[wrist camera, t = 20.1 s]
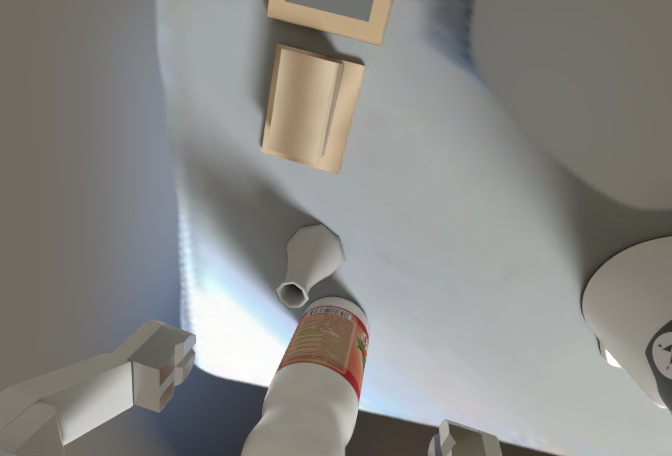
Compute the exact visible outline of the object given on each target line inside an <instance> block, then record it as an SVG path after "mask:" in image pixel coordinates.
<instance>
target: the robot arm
mask: <svg viewBox="0 0 672 456" xmlns="http://www.w3.org/2000/svg"><path fill="white" fill-rule="evenodd" d="M582 308H583V314H584V318H585V320H586V322H587V324H588V326H589V327H590V329H591V330H592V331H593V332H594V333H595V335H596V336H597V337H598V339H599V341H600V350H601V354H602V357H603V358H604V359H605V360H606V361H607V362H608V363H609V364H610V365H612V366H615V367H621V368H623V369H624V370H625V372H626V373H627V374H628V375H629V376H630V377H631V378H632V379H633V381H634V382H635V383H636V384H637V385H638V386H639V387H640V388H641V389H642V391H643V392H644V393H645V394H646V395H647V396H648V397H649V398H650V399H651V400H652V401H653V402H654V403H655V404H656V405H657V406H659V407H661V408H667V409H669V410H670V411H671V414H672V236H669V237H664V238H659V239H654V240H650V241H646V242H643V243H640V244H637V245H635V246H632V247H630V248H628V249H626V250H624V251H622V252H620V253H619V254H617V255H615V256H614V257H612V258H611V259H610V260H608V261H607V262H606V263H605V264H604V265H603V266H601V267H600V268H599V269H598V271H597V272H596V273H595V274H594V275H593V277H592V278H591V280H590V281H589V283H588V285H587V287H586V289H585V292H584V296H583V302H582ZM195 343H196V335H194V334H192V333H189V332H187V331H184V330H181V329H179V328H176V327H173V326H171V325H168V324H165V323H162V322H159V321H157V320H153V319H151V320H149V321H147V322H146V323H144V324H143V325H142V326H141V327H140V328H139V329H138V330H137V331H136V332H134V333H133V334H132V335H131V336H130V337H129V338H128V339H127V340H126V341H124V342H123V343H122V344H121V345H120V346H119V347H118V348H117V349H116V350H114V351H113V352H112V353H111V354H108V353H104V354H101V355H98V356H95V357H93V358H90V359H87V360H84V361H81V362H79V363H76V364H73V365H70V366H67V367H64V368H62V369H59V370H56V371H53V372H50V373H47V374H45V375H42V376H39V377H36V378H33V379H30V380H28V381H25V382H22V383H19V384H16V385H13V386H11V387H8V388H7V389H5V390H4V391H3V392H2V393H0V456H65V452H64V447H63V446H64V445H66V444H67V443H69V442H71V441H73V440H74V439H76V438H78V437H80V436H81V435H83V434H85V433H86V432H88V431H90V430H92V429H94V428H95V427H97V426H99V425H100V424H102V423H104V422H105V421H107V420H109V419H111V418H113V417H114V416H116V415H118V414H120V413H121V412H123V411H125V410H127V409H128V408H130V407H132V406H133V404H135V405H138V406H141V407H144V408H147V409H150V410H153V411H156V412H159V413H160V411H161V410H162V409H163V407H164V406H165V405H166V403H167V402H168V401H169V400H170V398H171V397H172V395H173V394H174V386H176V385H178V384H180V383H182V382H183V381H184V380H185V378H186V377H187V375H188V374H189V372H190V370H191V368H192V366H193V363H194V359H195V352H194V350H193V349H192V347H193V346H194V345H195ZM439 430H440V433H439V434H437V435H434V437H433V439H432V441H431V443H430V447H429V451H428V456H502V453H501V449H500V445H499V441H498V439H497V437H496V436H494V435H491V434H488V433H485V432H482V431H479V430H477V429H474V428H471V427H468V426H465V425H462V424H459V423H456V422H453V421H449V420H446V419H445V420H443V421H442V423H441V424H440V426H439Z"/></svg>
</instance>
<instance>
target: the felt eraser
mask: <svg viewBox="0 0 672 456" xmlns="http://www.w3.org/2000/svg"><path fill="white" fill-rule="evenodd" d="M343 69H344V65H343V64H339V63H335V62H331V61H327V60H324V59H320V58H316V57H312V56H308V55H304V54H300V53H296V52H292V51H289V50H285V49H282V50H281V57H280V64H279V71H278V78H277V85H276V92H275V99H274V106H273V113H272V120H271V127H270V134H269V141H268V148H267V149H269V150H272V151H276V152H279V153H283V154H286V155H290V156H293V157H297V158H300V159H304V160H307V161H311V162H314V163H316V162H317V161H318V160H319V159H320V158H322V157H323V156H324V155H325V151H326V147H327V142H328V138H329V133H330V128H331V124H332V119H333V115H334V110H335V106H336V101H337V96H338V92H339V87H340V83H341V78H342V74H343Z"/></svg>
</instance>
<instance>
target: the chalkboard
mask: <svg viewBox="0 0 672 456" xmlns="http://www.w3.org/2000/svg"><path fill="white" fill-rule="evenodd" d="M392 2H393V0H269V4H268V12H267V16H268V17H270V18H272V19H275V20H279V21H283V22H287V23H291V24H295V25H299V26H303V27H307V28H311V29H315V30H319V31H323V32H327V33H331V34H335V35H339V36H343V37H347V38H351V39H355V40H359V41H363V42H367V43H371V44H375V45H379V46H381V45H382V41H383V37H384V34H385V30H386V26H387V22H388V18H389V14H390V10H391V6H392Z"/></svg>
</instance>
